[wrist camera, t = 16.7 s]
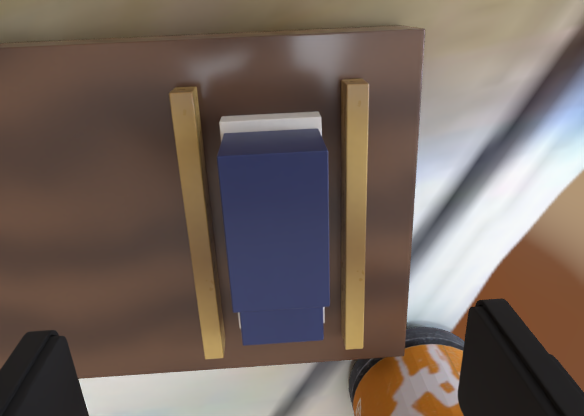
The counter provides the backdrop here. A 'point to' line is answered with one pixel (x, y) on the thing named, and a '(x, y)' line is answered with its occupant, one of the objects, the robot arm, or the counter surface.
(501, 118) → the counter surface
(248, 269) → the blue box
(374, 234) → the brown rectangular slab
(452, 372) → the canister
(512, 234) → the counter surface
